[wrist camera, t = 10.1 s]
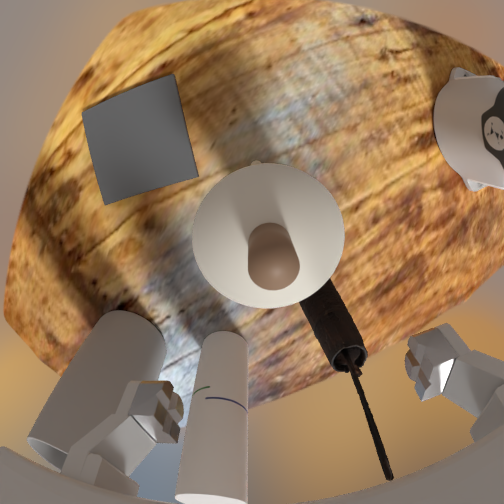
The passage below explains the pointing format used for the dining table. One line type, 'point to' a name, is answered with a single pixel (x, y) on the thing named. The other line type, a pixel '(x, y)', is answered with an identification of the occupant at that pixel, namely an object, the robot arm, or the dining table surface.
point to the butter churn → (342, 348)
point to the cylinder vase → (97, 382)
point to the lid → (268, 235)
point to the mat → (139, 140)
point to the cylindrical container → (217, 425)
